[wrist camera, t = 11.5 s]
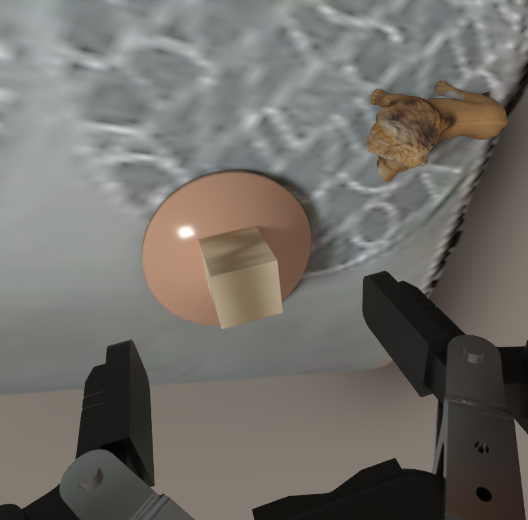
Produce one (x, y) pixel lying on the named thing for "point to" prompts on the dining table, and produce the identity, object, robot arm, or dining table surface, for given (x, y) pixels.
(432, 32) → the dining table surface
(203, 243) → the birch block
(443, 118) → the lion figurine
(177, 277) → the dish
